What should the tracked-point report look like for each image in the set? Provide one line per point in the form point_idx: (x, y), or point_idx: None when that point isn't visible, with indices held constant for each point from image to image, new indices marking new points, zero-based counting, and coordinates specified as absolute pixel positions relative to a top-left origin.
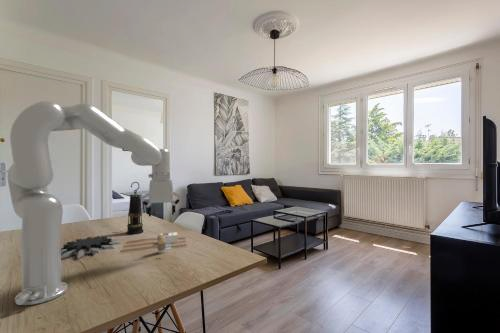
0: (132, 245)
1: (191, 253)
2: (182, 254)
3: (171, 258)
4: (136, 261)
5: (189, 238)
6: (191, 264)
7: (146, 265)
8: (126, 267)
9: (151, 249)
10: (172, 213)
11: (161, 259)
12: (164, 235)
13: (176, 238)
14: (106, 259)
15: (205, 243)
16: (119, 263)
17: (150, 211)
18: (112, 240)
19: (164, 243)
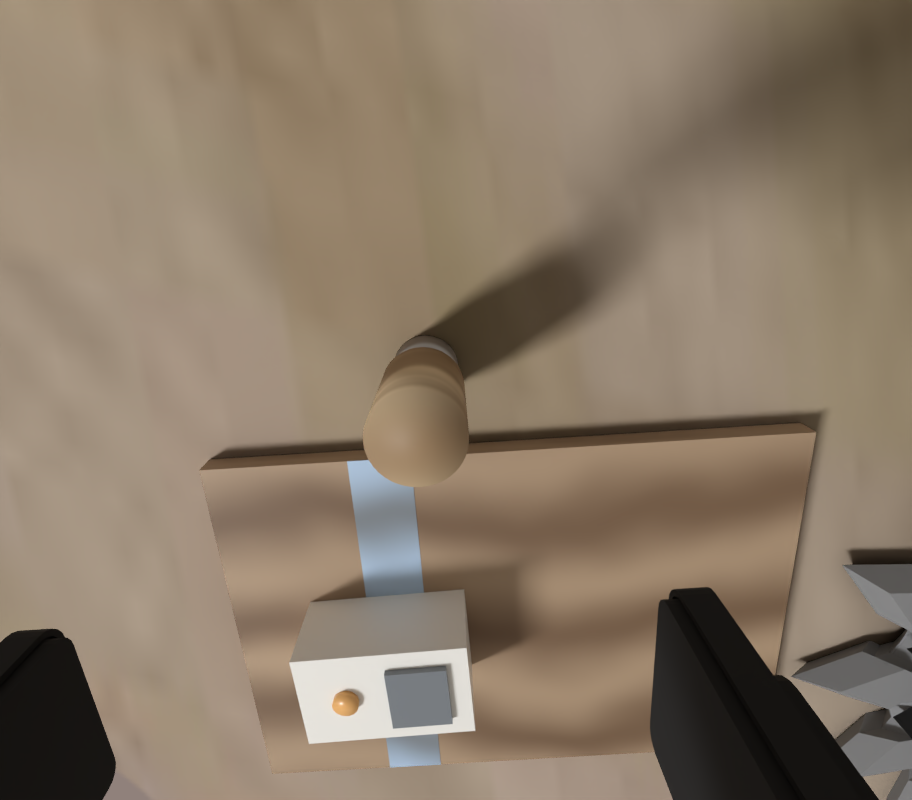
0: None
1: (142, 345)
2: (228, 338)
3: (319, 252)
4: (639, 252)
5: (234, 731)
6: (79, 16)
7: (536, 114)
8: (717, 109)
9: (531, 476)
10: (30, 660)
11: (412, 248)
12: (379, 457)
13: (308, 633)
14: (899, 371)
15: (57, 582)
16: (786, 238)
17: (733, 708)
18: (886, 746)
19: (383, 379)
